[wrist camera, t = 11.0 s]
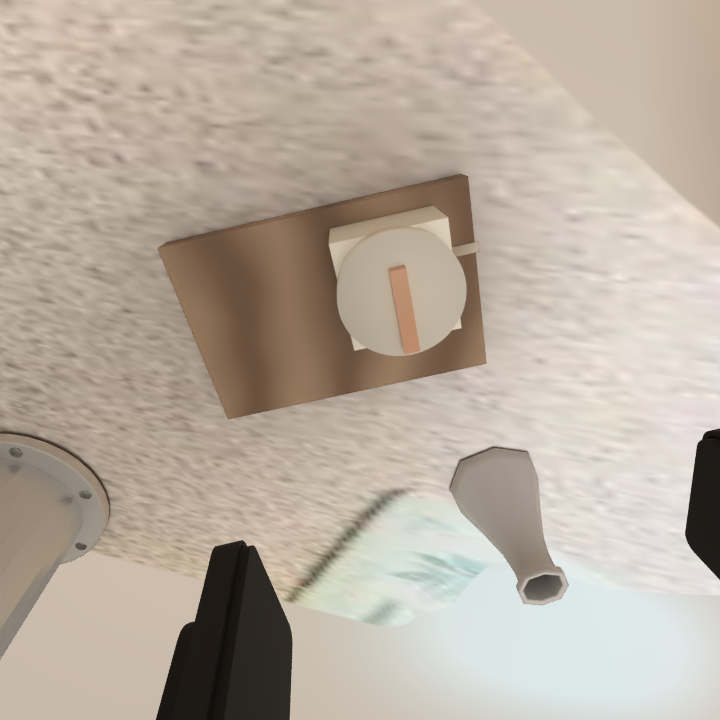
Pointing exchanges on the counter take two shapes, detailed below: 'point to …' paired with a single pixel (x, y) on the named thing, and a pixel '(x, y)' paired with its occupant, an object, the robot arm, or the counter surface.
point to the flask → (510, 518)
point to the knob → (398, 281)
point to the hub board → (308, 303)
